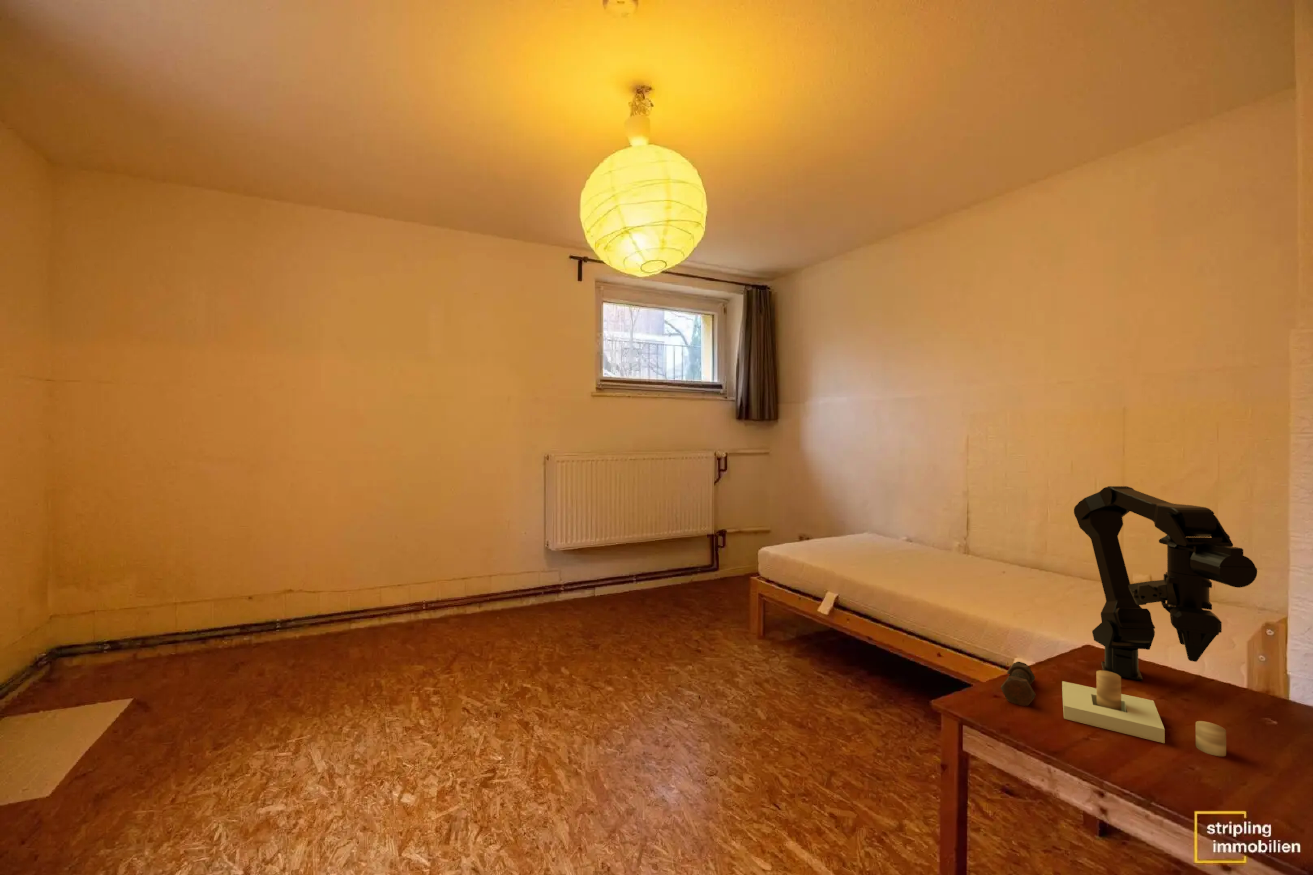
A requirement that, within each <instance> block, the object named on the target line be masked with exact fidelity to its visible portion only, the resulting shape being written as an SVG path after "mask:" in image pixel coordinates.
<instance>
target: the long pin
mask: <svg viewBox="0 0 1313 875" xmlns="http://www.w3.org/2000/svg"><path fill="white" fill-rule="evenodd" d="M1095 672H1096V688H1097V706H1101V707H1105V708H1109V709H1114V710H1118V711H1121V694H1122V677H1121V676H1120V675H1118V674H1116V673H1113V672H1109V671H1103V669H1102V670H1096V671H1095Z"/></svg>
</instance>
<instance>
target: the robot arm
mask: <svg viewBox="0 0 1313 875" xmlns="http://www.w3.org/2000/svg"><path fill="white" fill-rule="evenodd" d="M1130 512H1131V513H1134V514H1136V515H1139V516H1141V517H1143V518H1145V519H1147V520H1150V521H1152V522H1153V523H1154V527H1155V528H1156V529H1158V530H1159V531H1160V532H1162V533H1164V534H1165V536H1163V537H1161V538H1160V539H1158V543H1159V544H1162V545H1166V546H1167V547H1166V549H1167V552H1166V553H1167V554H1166V555H1167V558H1166V559H1167V560H1166V561H1167V563H1166V566H1167V568H1166V570H1167V571H1165V573H1163V579H1160V580H1148V581H1141V582H1135V583H1131V582H1130V578H1129V575H1128V570H1127V566H1126V563H1125V559H1124V555H1123V552H1122V547H1121V544H1120V540H1119V534H1120V532H1121V530H1122V528H1123V526H1124V523H1123V522H1124V520H1123V517H1124V516H1125V515H1127V514H1128V513H1130ZM1073 514H1074V517H1075V519H1076V522H1077V523H1078V526H1079V528H1080V529H1081V531H1083V533H1084V534H1086V535H1087V537H1089V538H1090V541H1091V544H1092V549H1093V552H1094V558H1095V561H1096V566H1097V568H1098V569H1097V570H1098V572H1099V576H1100V581H1101V585H1102V588H1103V593H1104V598H1105V604H1104V605H1103V607H1102V609H1101V612H1100V618H1101V622H1100V623H1099V624H1098V625H1097V626H1096V627H1095V628H1093V629H1092V630H1091V631H1092V637H1093V640H1094V642H1096V643H1098V644H1100V646H1101V645H1102V646H1103V647H1104V661H1102V660H1101V668H1102V670H1103V671H1109V672H1113V673H1116V674H1118V675H1120V676H1121V678H1126V679H1131V680H1136V681H1143V680H1144V678H1143V676H1142V673H1141V671H1140V669H1139V650H1147V651H1148V650H1151V647H1152V643H1153V641H1154V637H1155V634H1156V631H1155V629H1156V627H1155V625H1154V623H1153V620H1152V615H1151V613H1152V612H1151V611H1150V610H1149V608H1142V607H1141V606H1144V605H1147V604H1151V603H1161V606H1162V608H1163V609H1165V611H1167V612H1168V613H1169V617H1170V619H1169V620H1170V623H1171V626H1172V627H1173V628H1174V629H1175V630H1176V634H1177V638H1178V640H1179V641H1178V642H1179V643H1180V644H1181V645H1183V646H1184V648H1185V652H1186V655H1187V656H1186V657H1187V660H1188V661H1190V662H1195V663H1196V662H1198V661H1199V659H1200V658H1201V656H1202V655H1203V653H1205V651H1206V649H1208V647H1209V646H1210V644H1211V643H1212V642H1213V640H1214V639H1215V638H1216V636H1219V634H1220V633H1222V632H1223V631H1222V629H1223V628H1222V624H1223V622H1222V621H1221V619H1220V618H1219V617H1218V615H1216V614H1215V613H1213V611H1212V610H1213V604H1212V603H1211V601H1210V589H1212V588H1213V582H1212V581H1214V582H1218V583H1221V584H1222V585H1223V584H1224V585H1225V586H1230V587H1233V588H1237V589H1238V588H1245V587H1247V586H1250V585H1251V584H1252V583H1253V582H1254V581H1255V580H1256V578H1257V575H1258V568H1257V566H1256V565H1255V563H1254V562H1253V560H1252V559H1250V558H1249V557H1248V556H1246V555H1244V549H1243V548H1242V547H1238V546H1234V543H1233V542H1232V539H1231V537H1230V535H1229V534H1228V533H1227V532H1226V531H1225V528H1224V527H1223V525H1222V524H1221V522H1220V521H1219V519H1218V518H1217V516H1216V515H1215V512H1214V511H1213V510H1212V509H1210V508H1208V507H1206V506H1198V505H1192V504H1183V503H1182V504H1179V503H1173V502H1169V501H1166V500H1164V499H1162V498H1158V497H1156V496H1152V495H1149V494H1147V493H1144V492H1141V491H1139V490H1135V489H1134V488H1133V487H1131V486H1127V485H1123V486H1122V485H1117V486H1116V485H1113V486H1112V485H1109V486H1105V487H1103V488H1102V489H1101V490H1100V491H1098V492H1095V493H1093V494H1091V495H1089V496H1088V495H1087V496H1086V497H1084V498H1082V499H1081V500H1080V501H1078V503H1076V505H1075V506H1074V507H1073Z"/></svg>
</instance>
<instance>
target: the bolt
mask: <svg viewBox="0 0 1313 875" xmlns="http://www.w3.org/2000/svg"><path fill="white" fill-rule="evenodd" d="M1006 674H1007V675H1008V674H1010V675H1009V676H1007V678H1006V679H1005V680H1004V682H1003V683H1002V684H1001V686H1000V689H1001V691H1002V694H1003V695H1004V697H1005V698H1006V700H1007V701H1008V702H1009V703H1011V704H1014V705H1018V706H1022V707H1028V706H1029V705H1031V703H1032V702H1033V700H1034V699H1035V698H1036V695H1037V694H1036V692H1035V691H1034V689H1033V687H1032V686H1031V685H1032V683H1033V682H1034V681H1035V679H1036V676H1035V675H1034V673H1033V671H1032V669H1031V667H1030V666H1029V665H1028V664H1026V663H1025V662H1022V661H1016V662H1013V663H1012V664H1011V665H1010V667H1009V668H1008V670H1007V671H1006Z"/></svg>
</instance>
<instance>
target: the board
mask: <svg viewBox="0 0 1313 875" xmlns="http://www.w3.org/2000/svg"><path fill="white" fill-rule="evenodd" d="M1061 689H1062V690H1061V695H1062V708H1063V709H1062V711H1063V719H1064V720H1068V721H1073V722H1075V723H1081V724H1085V725H1088V726H1092V727H1097V728H1099V729H1100V728H1101V729H1103V730H1104V729H1105V730H1109V731H1113V732H1117V733H1120V734H1125V735H1128V736H1133V737H1137V738H1141V739H1146V740H1148V741H1154V742H1158V743H1162V744H1165V743H1166V742H1165V741H1166V740H1165V739H1166V738H1165V737H1166V736H1165V735H1166V734H1165V733H1166V732H1165V731H1166V729H1165V727H1164V724H1163V722H1162V719H1161V716H1160V714H1159V712H1158V708H1157V707H1156V703H1155V701H1154V700H1152V699H1147V698H1143V697H1138V696H1134V695H1128V694H1123V693H1121V711H1118V710H1114V709H1109V708H1105V707H1101V706H1097V687H1091V686H1087V685H1082V684H1078V683H1073V682H1068V681H1063V680H1062V681H1061Z"/></svg>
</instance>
